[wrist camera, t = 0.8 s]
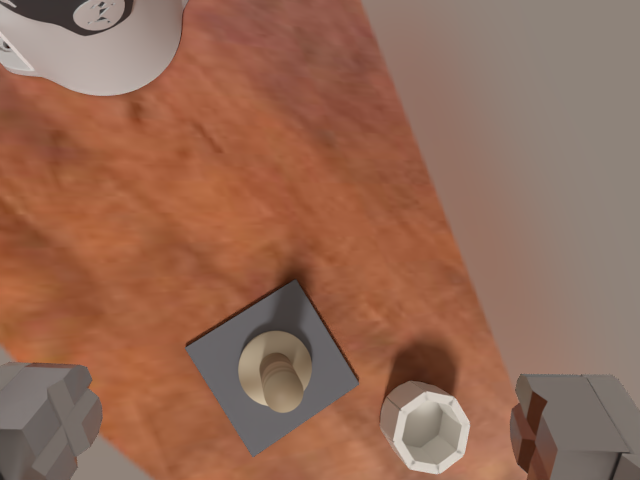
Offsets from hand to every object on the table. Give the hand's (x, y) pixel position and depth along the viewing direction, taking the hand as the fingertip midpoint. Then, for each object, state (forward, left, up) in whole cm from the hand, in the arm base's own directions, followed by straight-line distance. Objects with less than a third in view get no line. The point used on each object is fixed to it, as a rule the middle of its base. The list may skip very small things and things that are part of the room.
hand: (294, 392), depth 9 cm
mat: (+7, -2, -36) cm, 37 cm away
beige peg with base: (+7, -2, -36) cm, 36 cm away
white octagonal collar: (+19, +7, -36) cm, 41 cm away
